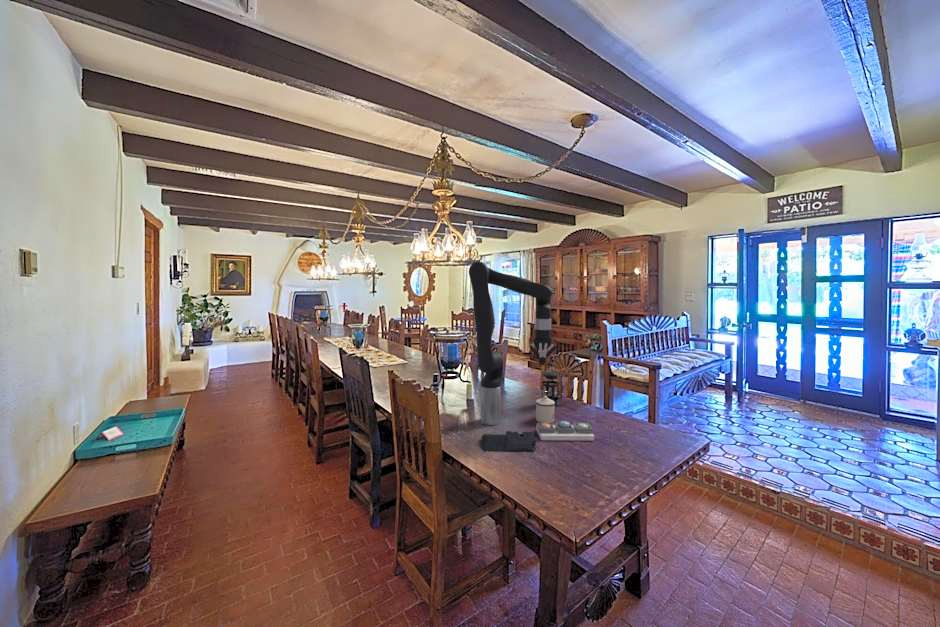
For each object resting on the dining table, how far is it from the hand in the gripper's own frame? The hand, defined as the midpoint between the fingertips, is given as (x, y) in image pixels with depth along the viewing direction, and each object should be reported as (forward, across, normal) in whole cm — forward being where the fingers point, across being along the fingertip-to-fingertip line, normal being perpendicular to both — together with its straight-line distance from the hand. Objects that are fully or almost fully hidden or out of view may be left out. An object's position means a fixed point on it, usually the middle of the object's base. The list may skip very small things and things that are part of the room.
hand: (541, 365), depth 175 cm
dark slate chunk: (+28, -17, -26) cm, 42 cm away
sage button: (+25, +16, -15) cm, 33 cm away
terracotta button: (+25, 0, -16) cm, 29 cm away
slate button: (+24, +8, -16) cm, 29 cm away
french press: (+28, +10, +26) cm, 39 cm away
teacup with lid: (+27, +2, +3) cm, 28 cm away
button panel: (+27, +8, -16) cm, 32 cm away
